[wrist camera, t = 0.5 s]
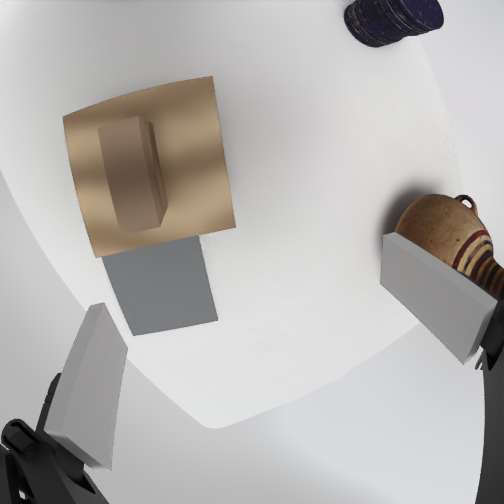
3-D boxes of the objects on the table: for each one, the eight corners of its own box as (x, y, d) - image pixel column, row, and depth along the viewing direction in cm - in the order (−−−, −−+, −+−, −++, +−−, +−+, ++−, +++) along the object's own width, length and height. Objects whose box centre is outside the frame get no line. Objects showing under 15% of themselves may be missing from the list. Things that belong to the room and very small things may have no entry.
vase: (422, 163, 45) (554, 204, 18) (447, 227, 52) (548, 283, 25) (351, 235, 48) (481, 331, 20) (389, 292, 55) (482, 380, 28)
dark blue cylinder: (394, 26, 33) (447, 8, 20) (380, 58, 36) (439, 42, 22) (352, -6, 30) (401, -36, 16) (335, 25, 33) (387, -6, 19)
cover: (105, 123, 33) (26, 112, 13) (205, 99, 35) (219, 53, 15) (125, 220, 39) (72, 291, 19) (221, 199, 41) (249, 254, 21)
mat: (98, 243, 39) (97, 244, 38) (195, 221, 41) (195, 222, 41) (133, 333, 46) (133, 335, 46) (217, 318, 48) (218, 320, 48)
